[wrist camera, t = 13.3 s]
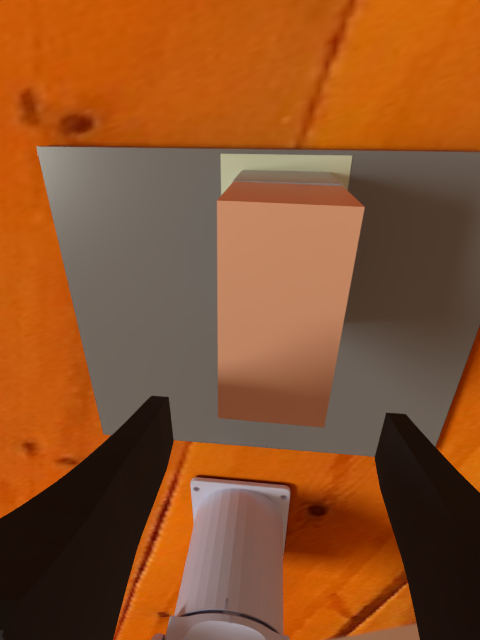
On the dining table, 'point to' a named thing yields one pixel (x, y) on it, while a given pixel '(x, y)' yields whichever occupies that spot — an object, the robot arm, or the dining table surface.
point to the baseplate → (201, 284)
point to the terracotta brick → (282, 297)
